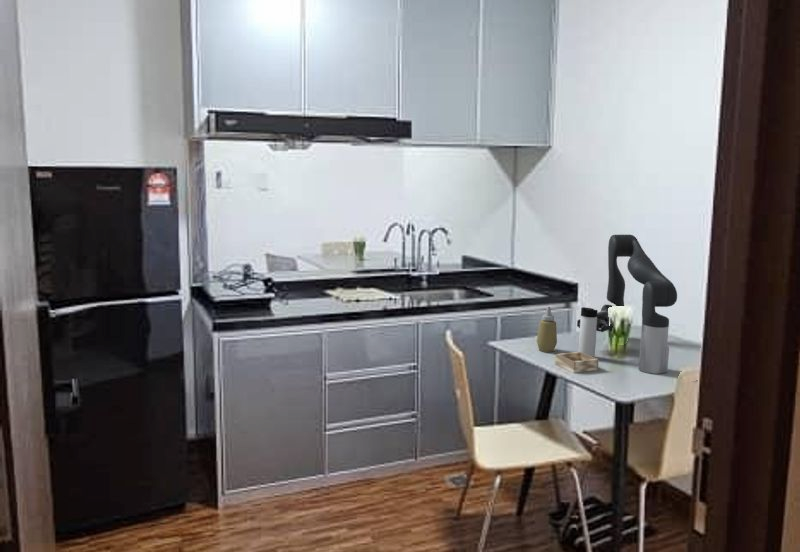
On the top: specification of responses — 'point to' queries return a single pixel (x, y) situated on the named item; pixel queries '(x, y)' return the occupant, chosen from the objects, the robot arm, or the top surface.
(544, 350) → the squeeze bottle
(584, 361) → the birch dock
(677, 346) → the top surface
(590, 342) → the travel mug
